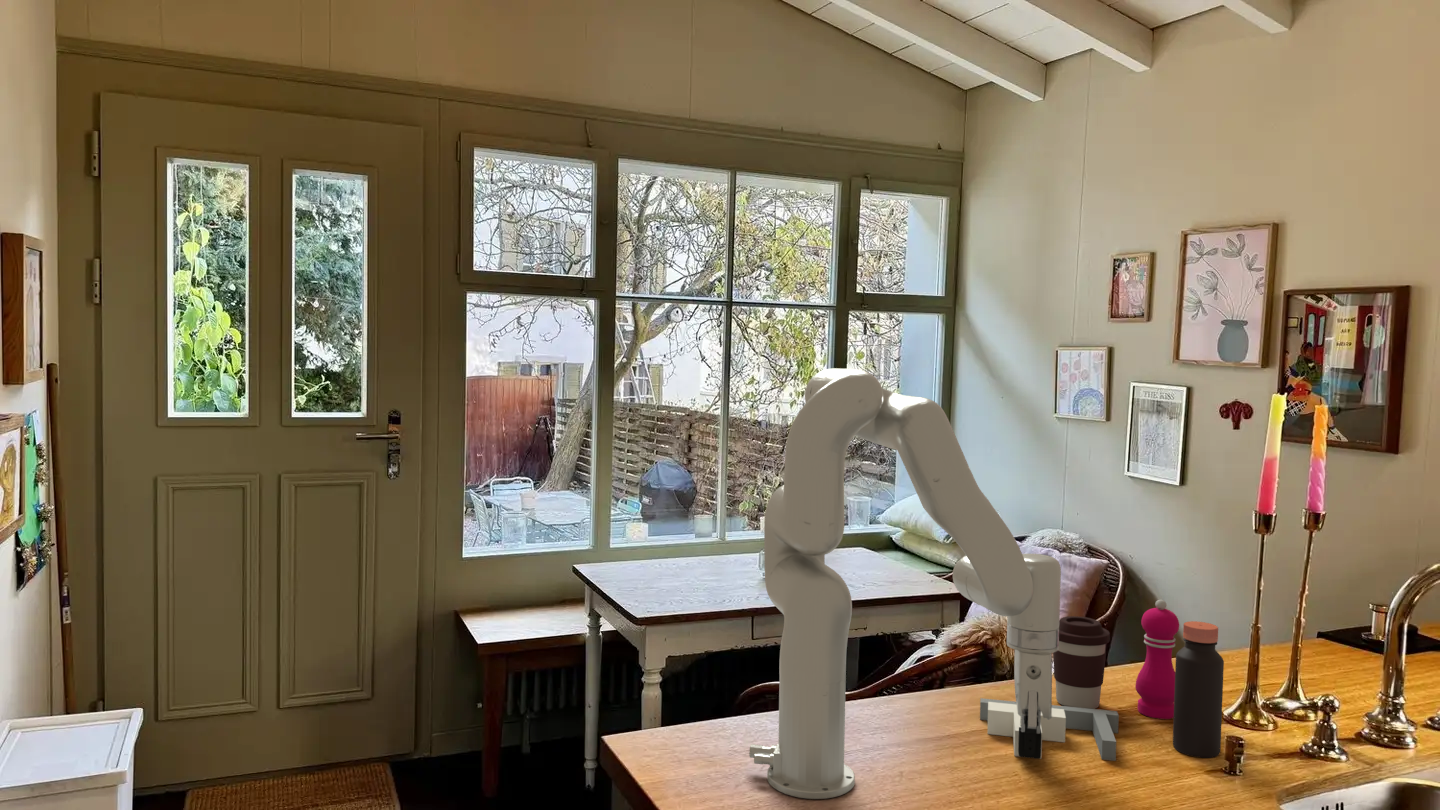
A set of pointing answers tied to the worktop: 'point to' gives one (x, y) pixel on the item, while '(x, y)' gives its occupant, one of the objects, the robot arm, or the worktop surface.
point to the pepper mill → (1158, 663)
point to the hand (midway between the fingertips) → (1029, 755)
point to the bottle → (1198, 692)
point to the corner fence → (1081, 724)
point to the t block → (1008, 722)
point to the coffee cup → (1080, 662)
